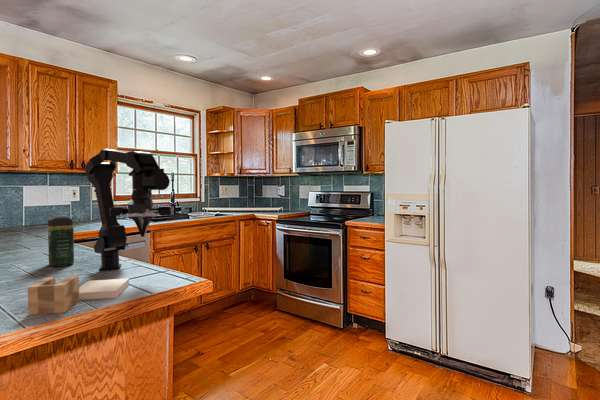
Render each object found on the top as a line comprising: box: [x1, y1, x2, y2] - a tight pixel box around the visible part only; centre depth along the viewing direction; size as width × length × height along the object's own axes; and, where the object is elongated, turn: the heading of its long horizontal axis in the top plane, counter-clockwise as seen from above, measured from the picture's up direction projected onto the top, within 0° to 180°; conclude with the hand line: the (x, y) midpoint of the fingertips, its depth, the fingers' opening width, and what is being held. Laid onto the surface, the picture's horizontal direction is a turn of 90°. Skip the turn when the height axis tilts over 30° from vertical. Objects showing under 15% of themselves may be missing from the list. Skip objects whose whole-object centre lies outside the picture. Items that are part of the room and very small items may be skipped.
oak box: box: [27, 275, 80, 316], centre depth 85 cm, size 8×7×6 cm
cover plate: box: [79, 278, 130, 301], centre depth 97 cm, size 12×2×11 cm
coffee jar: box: [47, 215, 75, 267], centre depth 131 cm, size 10×8×19 cm
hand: (142, 236), depth 115 cm, fingers closed
